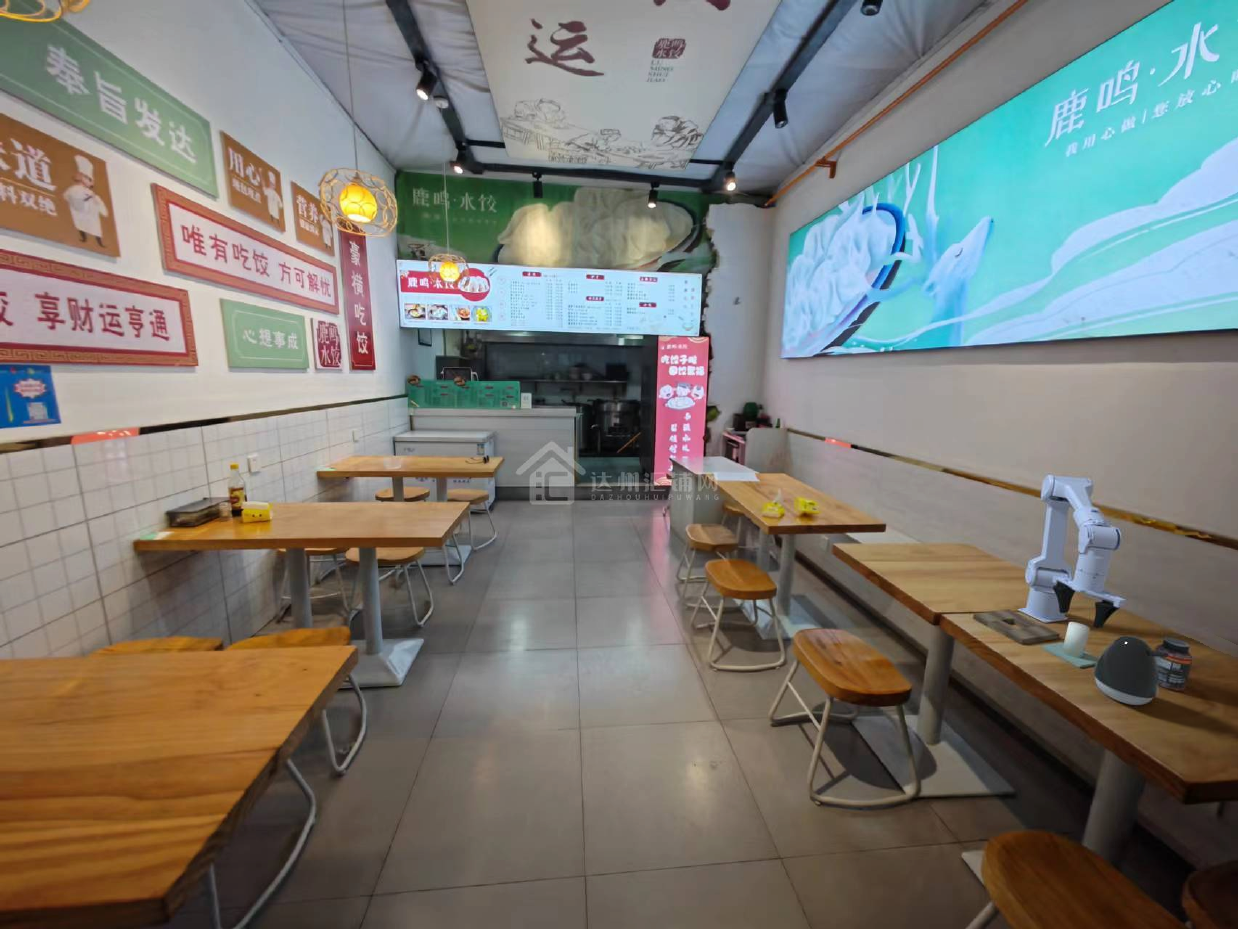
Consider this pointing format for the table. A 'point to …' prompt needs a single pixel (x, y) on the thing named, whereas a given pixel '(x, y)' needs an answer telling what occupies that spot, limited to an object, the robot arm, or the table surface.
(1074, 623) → the white cylinder
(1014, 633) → the socket board
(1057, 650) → the rubber mat
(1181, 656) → the supplement bottle
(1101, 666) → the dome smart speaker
